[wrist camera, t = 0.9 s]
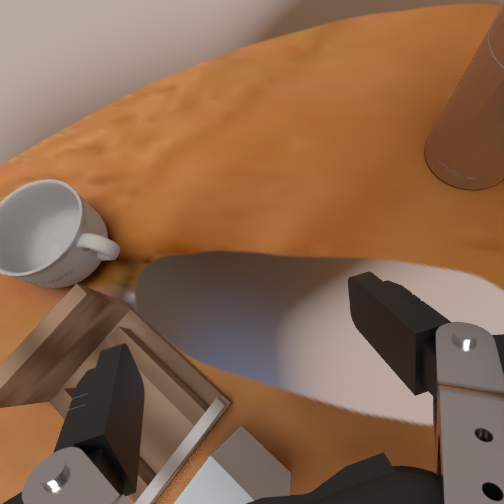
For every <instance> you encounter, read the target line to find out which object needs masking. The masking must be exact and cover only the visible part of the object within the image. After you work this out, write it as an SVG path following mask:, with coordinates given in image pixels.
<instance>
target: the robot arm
mask: <svg viewBox="0 0 504 504" xmlns="http://www.w3.org/2000/svg"><path fill="white" fill-rule="evenodd" d="M425 158H426V161H427V164H428V166H429V167H430V169H431V170H432V172H433V173H434V174H435V175H436V176H437V177H438V178H440V179H441V180H443V181H444V182H446V183H448V184H450V185H452V186H455V187H458V188H462V189H471V190H477V189H485V188H488V187H491V186H494V185H496V184H498V183H499V182H501V181H502V180H503V179H504V3H503V5H502V7H501V8H500V10H499V12H498V14H497V16H496V17H495V19H494V21H493V23H492V25H491V27H490V29H489V30H488V32H487V34H486V36H485V38H484V39H483V41H482V43H481V45H480V46H479V48H478V50H477V52H476V54H475V55H474V57H473V59H472V61H471V63H470V64H469V66H468V68H467V70H466V71H465V73H464V75H463V77H462V79H461V80H460V82H459V84H458V86H457V88H456V89H455V91H454V93H453V95H452V97H451V98H450V100H449V102H448V104H447V105H446V107H445V109H444V111H443V113H442V114H441V116H440V118H439V119H438V121H437V123H436V125H435V127H434V128H433V130H432V132H431V134H430V136H429V137H428V140H427V142H426V145H425ZM348 288H349V300H350V311H351V317H352V320H353V322H354V324H355V326H356V328H357V329H358V330H359V332H360V333H361V334H362V335H363V336H364V337H365V339H366V340H367V341H368V342H369V343H370V344H371V346H373V348H374V349H375V350H376V351H377V352H378V353H379V355H380V356H381V357H382V358H383V359H384V360H385V362H386V363H387V364H388V365H389V366H390V367H391V369H392V370H393V371H394V372H395V373H396V374H397V375H398V377H399V378H400V379H401V380H402V381H403V382H404V383H405V384H406V386H407V387H408V388H409V389H410V390H411V391H412V393H413V394H414V395H419V394H421V393H424V392H427V391H429V392H430V393H431V394H432V395H433V423H434V472H431V471H428V470H424V469H420V468H415V467H409V466H392V465H391V463H390V462H389V460H388V459H387V457H386V455H385V454H384V453H381V454H379V455H376V456H373V457H371V458H368V459H365V460H362V461H360V462H357V463H354V464H352V465H349V466H346V467H344V468H343V469H342V470H340V471H339V472H338V473H336V474H335V475H334V476H332V477H331V478H330V479H328V480H327V481H326V482H324V483H323V484H322V485H320V486H319V487H318V488H316V489H315V490H314V491H312V492H310V493H308V494H303V495H290V496H277V497H264V498H260V499H257V500H254V501H252V502H249V503H246V504H504V334H503V335H491V334H490V333H489V332H488V331H486V330H485V329H483V328H481V327H479V326H476V325H473V324H469V323H463V322H450V321H449V320H448V319H446V318H445V317H444V316H442V315H441V314H440V313H438V312H437V311H436V310H434V309H433V308H431V307H430V306H429V305H427V304H426V303H425V302H423V301H421V300H420V299H419V298H418V297H416V296H415V295H412V293H411V292H410V291H409V290H407V289H406V288H404V287H403V286H401V285H399V284H396V283H393V282H391V281H384V282H383V281H382V280H380V279H379V278H378V277H377V276H375V275H374V274H373V273H371V272H366V273H363V274H359V275H356V276H352V277H350V278H349V279H348ZM144 400H145V390H144V384H143V380H142V377H141V375H140V372H139V370H138V368H137V365H136V363H135V361H134V359H133V356H132V354H131V352H130V349H129V347H128V346H127V344H126V343H123V344H120V345H116V346H113V347H110V348H106V349H103V350H101V352H100V355H99V358H98V362H97V365H96V368H93V369H89V370H87V372H86V373H85V374H84V376H83V377H82V378H81V379H80V381H79V382H78V383H77V386H76V389H75V392H74V395H73V400H71V403H70V406H69V411H68V412H67V415H66V418H65V421H64V424H63V427H62V430H61V433H60V435H59V438H58V441H57V444H56V447H55V450H54V453H53V454H51V455H50V456H48V457H47V458H45V459H44V460H43V461H42V462H41V463H40V464H38V466H37V467H36V468H35V469H34V470H33V471H32V472H31V474H30V475H29V477H28V478H27V480H26V482H25V484H24V487H23V490H22V492H21V493H19V494H17V495H16V496H14V497H13V498H11V499H9V500H8V501H6V502H4V503H3V504H132V503H131V502H130V501H129V500H128V499H127V497H126V496H127V495H130V494H133V493H136V490H137V479H138V467H139V456H140V445H141V433H142V422H143V411H144Z"/></svg>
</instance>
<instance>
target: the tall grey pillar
mask: <svg viewBox="0 0 504 504" xmlns="http://www.w3.org/2000/svg"><path fill="white" fill-rule="evenodd" d="M290 483H291V472H290V471H289V470H288V469H287V468H285V467H284V466H283V465H282V464H281V463H280V462H279V461H278V460H277V459H276V458H275V457H274V456H273V455H272V454H271V453H270V452H269V451H268V450H267V449H266V448H265V447H263V446H262V445H261V444H260V443H259V442H258V441H257V440H256V439H255V438H254V437H253V436H252V435H251V434H250V433H249V432H248V431H247V430H246V429H245V428H244V427H242V426H240V427H239V428H238V429H237V430H236V431H235V432H234V433H233V434H232V435H231V436H230V437H229V438H228V439H227V440H226V441H225V442H224V443H223V444H222V445H221V446H220V447H218V448H217V449H216V450H215V451H214V452H213V453H212V454H211V455H210V457H209V458H208V459H207V461H206V462H205V463H204V464H203V466H202V467H201V468H200V470H199V471H198V472H197V474H196V475H195V476H194V478H193V479H192V480H191V482H190V483H189V484H188V486H187V487H186V488H185V490H184V491H183V492H182V494H181V495H180V496H179V498H178V499H177V500H176V502H175V503H174V504H246V503H249V502H252V501H254V500H257V499H260V498H264V497H277V496H290Z"/></svg>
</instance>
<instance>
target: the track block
mask: <svg viewBox="0 0 504 504" xmlns="http://www.w3.org/2000/svg"><path fill="white" fill-rule="evenodd" d="M123 343H126V344H127V346H128V347H129V349H130V352H131V354H132V356H133V359H134V361H135V363H136V365H137V368H138V370H139V372H140V375H141V377H142V380H143V384H144V390H145V400H144V411H143V422H142V433H141V445H140V456H139V467H138V479H137V490H136V493H133V494H130V495H128V496H129V497H130V498H131V500H132V501H133V502H134V504H155V502H156V501H157V500H158V498H159V497H160V496H161V494H162V493H163V492H164V490H165V489H166V488H167V487H168V485H169V484H170V483H171V481H172V480H173V479H174V477H175V476H176V475H177V474H178V472H179V471H180V470H181V468H182V467H183V466H184V464H185V463H186V462H187V460H188V459H189V458H190V457H191V455H192V454H193V453H194V451H195V450H196V449H197V447H198V446H199V445H200V444H201V442H202V441H203V440H204V438H205V437H206V436H207V434H208V433H209V432H210V430H211V429H212V428H213V427H214V425H215V424H216V423H217V421H218V420H219V419H220V417H221V416H222V415H223V414H224V412H225V411H226V410H227V408H228V407H229V406H230V404H231V403H232V401H231V400H230V399H228V398H227V397H226V396H225V395H224V394H223V393H222V392H221V391H220V390H219V389H218V388H217V387H216V386H215V385H214V384H212V383H211V382H210V381H209V380H208V379H207V378H206V377H205V376H204V375H203V374H202V373H201V372H200V371H199V370H198V369H196V368H195V367H194V366H193V365H192V364H191V363H190V362H189V361H188V360H187V359H186V358H185V357H184V356H183V355H181V354H180V353H179V352H178V351H177V350H176V349H175V348H174V347H173V346H172V345H171V344H170V343H169V342H168V341H167V340H165V339H164V338H163V337H162V336H161V335H160V334H159V333H158V332H157V331H156V330H155V329H153V327H152V326H151V325H149V324H148V323H147V322H146V321H145V320H144V319H143V318H142V317H141V316H140V315H139V314H138V313H137V312H136V311H135V310H133V309H132V308H131V307H130V306H129V305H128V304H127V303H126V302H124V301H121V300H118V299H116V298H113V297H110V296H108V295H105V294H103V293H100V292H97V291H95V290H92V289H89V288H87V287H84V286H82V285H79V284H76V285H75V286H74V287H73V288H72V289H71V290H70V291H69V292H68V293H67V294H66V295H65V296H64V297H63V299H62V300H61V301H60V302H59V303H58V304H57V305H56V306H55V307H54V308H53V309H52V310H51V312H50V313H49V314H48V315H47V316H46V317H45V318H44V319H43V320H42V321H41V322H40V323H39V324H38V326H37V327H36V328H35V329H34V330H33V331H32V332H31V333H30V334H29V335H28V336H27V337H26V338H25V340H24V341H23V342H22V343H21V344H20V345H19V346H18V347H17V348H16V349H15V350H14V351H13V352H12V354H11V355H10V356H9V357H8V358H7V359H6V360H5V361H4V362H3V363H2V364H1V365H0V408H3V407H11V406H18V405H26V404H34V403H41V402H50V403H51V404H52V405H53V406H54V408H55V409H56V410H57V411H58V412H59V414H60V415H61V416H62V417H63V418H64V419H65V418H66V415H67V412H68V411H69V406H70V403H71V400H73V395H74V392H75V389H76V386H77V383H78V382H79V381H80V379H81V378H82V377H83V376H84V374H85V373H86V372H87V370H89V369H93V368H96V365H97V362H98V358H99V355H100V352H101V350H103V349H106V348H110V347H113V346H116V345H120V344H123Z"/></svg>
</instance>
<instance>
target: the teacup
mask: <svg viewBox="0 0 504 504" xmlns="http://www.w3.org/2000/svg"><path fill="white" fill-rule="evenodd" d="M119 253H120V246H119V245H118V244H117V243H115V242H114V241H112V240H110V239H108V233H107V228H106V226H105V223H104V221H103V220H102V218H101V217H100V215H99V214H98V213H97V212H96V211H95V209H94V208H93V207H92V206H91V205H90V204H88V203H87V202H86V201H85V200H84V199H83V198H82V197H81V196H80V195H79V194H78V193H77V191H76V190H75V189H74V188H73V187H71V186H70V185H68V184H67V183H65V182H62V181H59V180H53V179H46V180H38V181H34V182H31V183H28V184H25V185H23V186H21V187H19V188H18V189H16V190H14V191H13V192H12V193H10V194H9V195H8V196H7V197H5V198H4V199H3V200H2V201H1V202H0V274H2V275H5V276H10V277H14V278H16V279H19V280H22V281H25V282H27V283H30V284H34V285H37V286H41V287H46V288H63V287H68V286H71V285H74V284H76V283H78V282H80V281H82V280H83V279H85V278H86V277H88V276H89V275H90V274H91V273H92V272H93V271H94V270H95V269H96V268H97V267H98V265H99V264H100V263H101V261H104V260H115V259H116V258H117V257H118V255H119Z"/></svg>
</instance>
